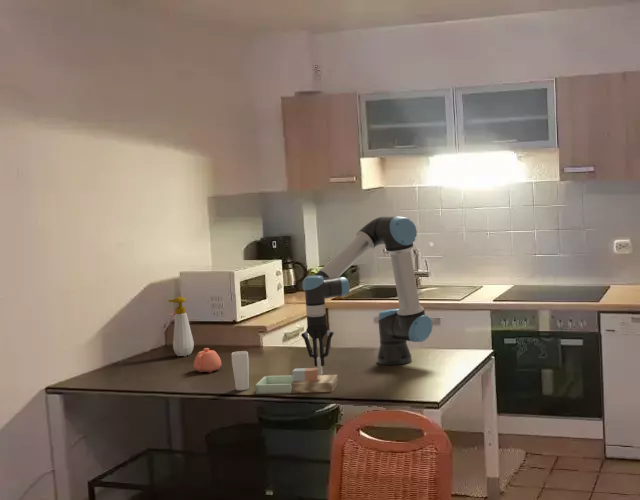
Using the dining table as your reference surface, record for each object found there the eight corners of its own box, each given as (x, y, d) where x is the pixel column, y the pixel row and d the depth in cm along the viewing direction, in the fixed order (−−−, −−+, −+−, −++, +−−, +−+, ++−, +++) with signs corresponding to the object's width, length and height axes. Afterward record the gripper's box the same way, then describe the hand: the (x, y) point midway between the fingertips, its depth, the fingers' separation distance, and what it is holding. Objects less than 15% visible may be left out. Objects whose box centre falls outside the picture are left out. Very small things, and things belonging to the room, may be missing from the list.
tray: (298, 383, 378) (298, 375, 378) (290, 393, 362) (289, 384, 362) (265, 384, 381) (264, 376, 380) (255, 394, 365) (255, 385, 365)
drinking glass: (234, 388, 378) (231, 351, 376) (250, 386, 378) (248, 350, 377) (233, 391, 371) (231, 354, 370) (250, 390, 372) (248, 353, 370)
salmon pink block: (320, 377, 370) (319, 367, 370) (317, 380, 366) (317, 370, 365) (307, 378, 371) (307, 368, 371) (305, 380, 366) (304, 370, 366)
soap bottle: (181, 352, 463) (176, 294, 461) (198, 353, 459) (194, 294, 456) (166, 357, 452) (161, 298, 449) (183, 358, 447) (178, 298, 445)
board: (337, 383, 374) (337, 374, 374) (332, 391, 360) (331, 382, 360) (298, 384, 377) (298, 375, 377) (291, 392, 363) (291, 383, 363)
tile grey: (307, 378, 371) (307, 368, 371) (305, 380, 366) (304, 370, 366) (295, 378, 372) (294, 368, 372) (292, 381, 367) (292, 371, 367)
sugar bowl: (226, 368, 418) (225, 345, 417) (210, 375, 406) (208, 352, 405) (203, 367, 424) (202, 345, 423) (186, 374, 411) (185, 351, 410)
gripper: (334, 313, 368) (337, 371, 370) (301, 314, 370) (305, 372, 372) (330, 316, 361) (334, 375, 363) (298, 317, 363) (302, 376, 365)
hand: (320, 374), depth 368 cm, fingers closed
